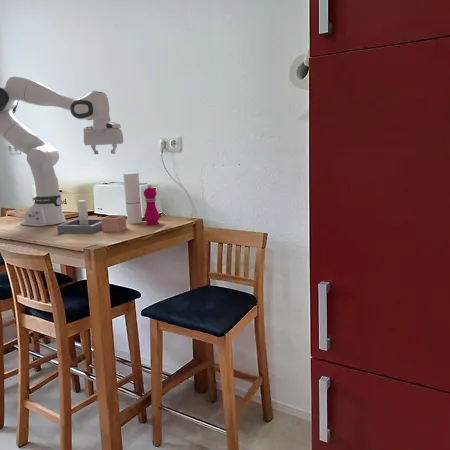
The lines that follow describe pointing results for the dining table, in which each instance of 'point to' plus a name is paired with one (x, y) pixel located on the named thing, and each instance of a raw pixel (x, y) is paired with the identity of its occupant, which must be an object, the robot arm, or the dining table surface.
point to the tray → (80, 226)
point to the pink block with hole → (113, 223)
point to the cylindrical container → (132, 197)
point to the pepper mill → (151, 207)
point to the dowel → (82, 212)
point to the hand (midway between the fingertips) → (104, 154)
